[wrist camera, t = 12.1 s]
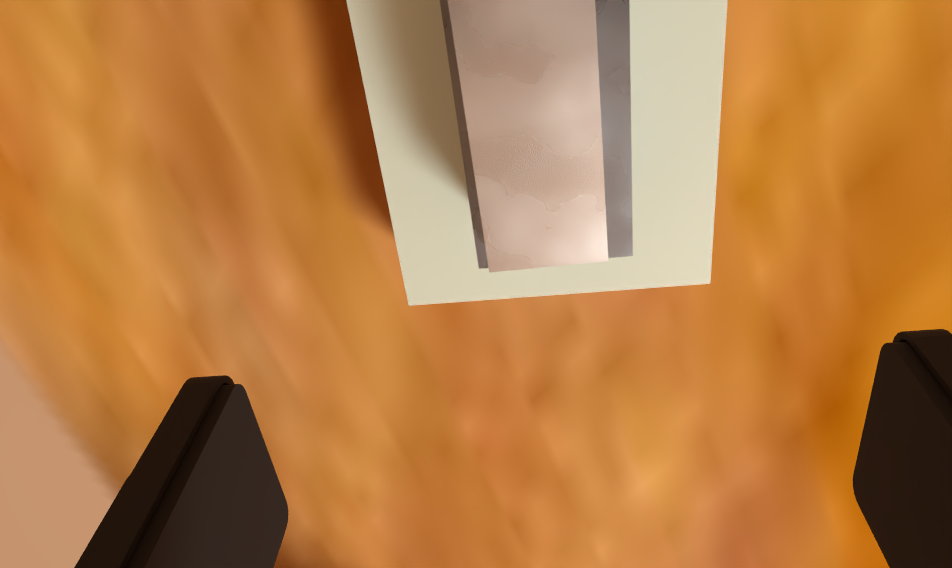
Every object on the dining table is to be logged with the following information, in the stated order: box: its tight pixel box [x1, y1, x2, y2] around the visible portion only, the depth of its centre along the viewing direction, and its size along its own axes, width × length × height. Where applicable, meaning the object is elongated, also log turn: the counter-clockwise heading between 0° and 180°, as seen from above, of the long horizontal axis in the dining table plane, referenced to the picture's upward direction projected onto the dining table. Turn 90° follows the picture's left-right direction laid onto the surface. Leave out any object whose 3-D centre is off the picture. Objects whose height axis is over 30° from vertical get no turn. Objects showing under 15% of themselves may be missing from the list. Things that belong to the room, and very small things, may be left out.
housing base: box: [440, 0, 633, 269], centre depth 23 cm, size 5×10×4 cm, turn 7°
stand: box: [346, 0, 727, 306], centre depth 26 cm, size 18×12×4 cm, turn 7°
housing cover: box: [448, 0, 608, 272], centre depth 21 cm, size 4×9×2 cm, turn 8°
